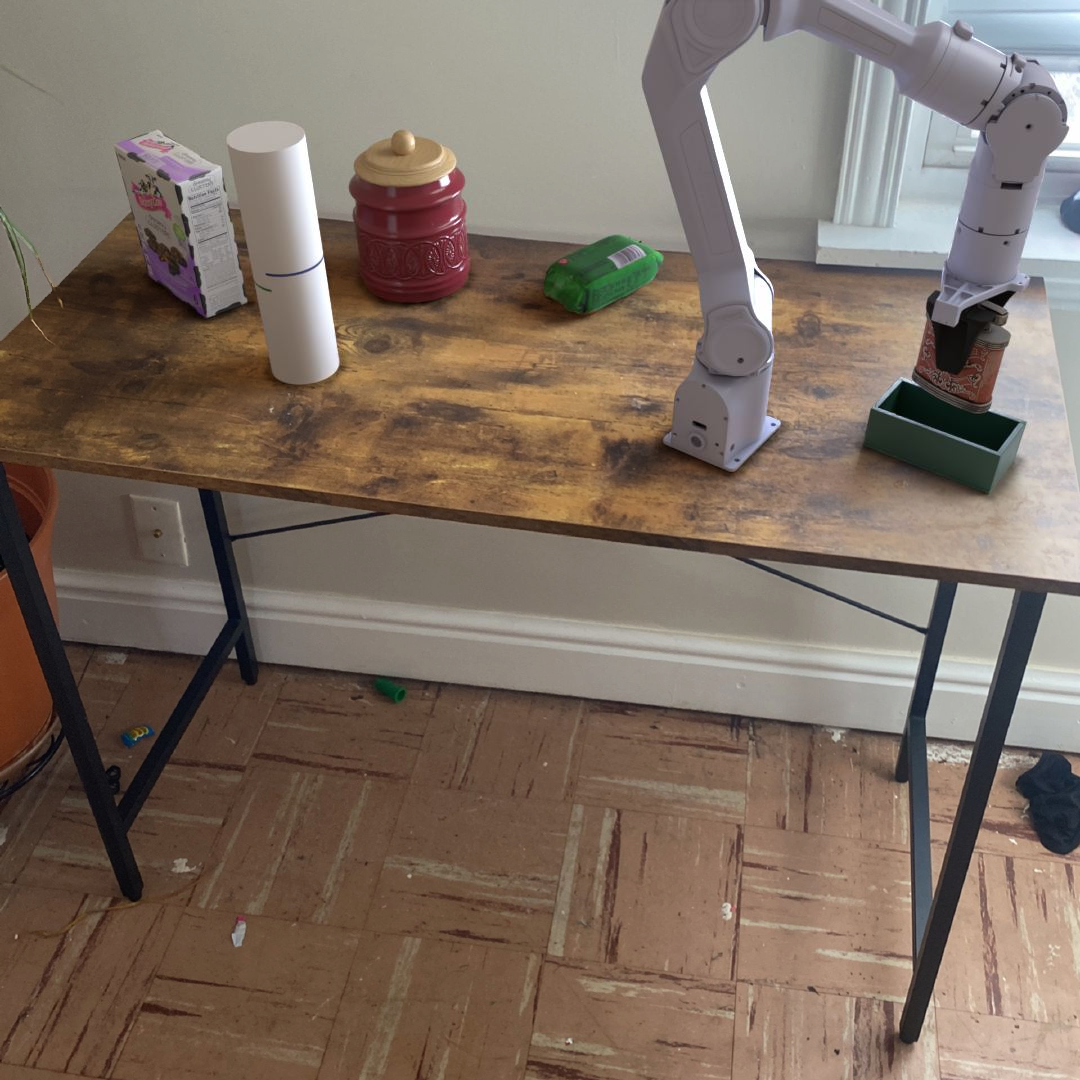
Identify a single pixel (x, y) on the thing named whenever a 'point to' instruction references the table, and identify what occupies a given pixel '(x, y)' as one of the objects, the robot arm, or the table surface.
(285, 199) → the cylindrical container
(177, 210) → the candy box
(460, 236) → the kitchen canister
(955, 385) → the lighter
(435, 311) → the table surface
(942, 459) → the green open box
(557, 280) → the snack package
